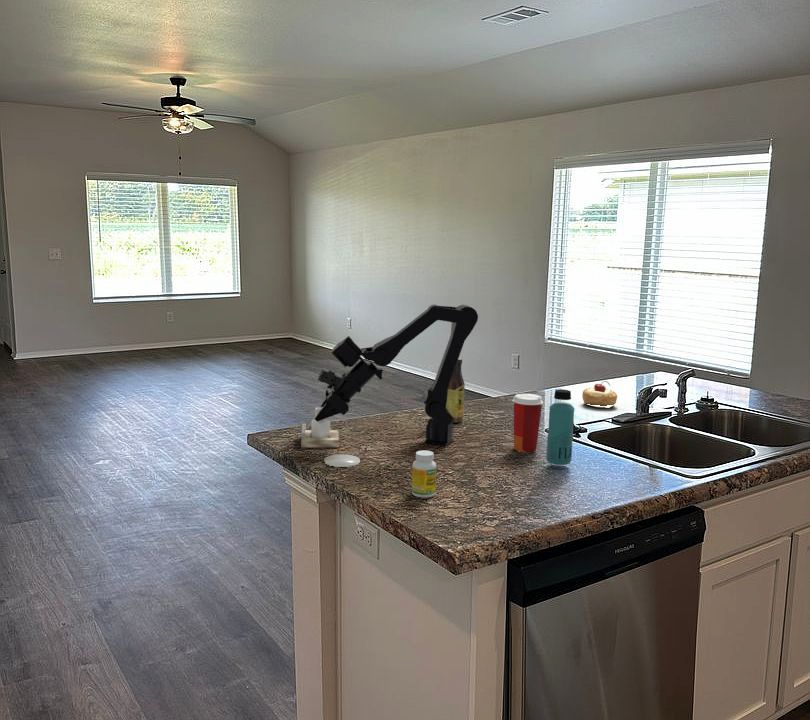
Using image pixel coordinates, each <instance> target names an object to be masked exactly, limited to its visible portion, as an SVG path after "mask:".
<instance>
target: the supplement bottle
mask: <svg viewBox="0 0 810 720" xmlns="http://www.w3.org/2000/svg"><path fill="white" fill-rule="evenodd" d="M434 458H435V455H434V452H433V451H431V450H418V451H416V452H415V460H414V461H413V463H412V469H411V470H412V472H411V473H412V475H411V476H412V477H411V494H412V496H415V497H418V498H423V499H424V498H426V499H427V498H432V497H434V496H435V494H436V490H437V489H436V486H437V485H436V484H437V481H436V480H437V463H436V462H435V461H434Z"/></svg>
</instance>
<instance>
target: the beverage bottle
mask: <svg viewBox="0 0 810 720" xmlns="http://www.w3.org/2000/svg"><path fill="white" fill-rule="evenodd" d="M571 392H572V391H571V390H568V389H563V388H562V389H555V391H554V395H553V396H554V397H553V399H555V400H561V401H555V402H553V403H552V404H550V406H549V407H548V408H549V412H548V413H549V414H548V430H547V432H548V433H547V439H546V449H545V450H546V453H545V455H546V456H545V457H546V459H545V460H546V461H547V463H549V464H551V465H559V466H565V465H566V466H568V465H569V464H571V461H572V459H573V458H572V454H573V446H574V445H573V441H574V438H573V436H574V435H573V434H574V425H575V423H574V422H575V421H574V420H575V417H574V416H575V408H574V406H573V404H571V403H570V402H567V401H569V400H571V399H572V397H571V396H572V393H571ZM565 401H566V402H565Z"/></svg>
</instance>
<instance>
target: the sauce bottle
mask: <svg viewBox="0 0 810 720" xmlns="http://www.w3.org/2000/svg"><path fill="white" fill-rule="evenodd" d="M462 364H463V358H461V357H459V358H458V361H457V364H456V367H455V370H454V372H453V375H452V378H451V381H450V384H449V386H448V395H447V403H446V408H447V409H448V411H449V412H450V414H451V415H452V417H453V420H452V424H456V423H457V424H458V423H462V422H463V419H464V418H463V417H464V408H465V407H464V405H465V389H466V388H465V387H466V383H465V380H464V378H463V374H462Z"/></svg>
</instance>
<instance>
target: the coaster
mask: <svg viewBox="0 0 810 720" xmlns="http://www.w3.org/2000/svg"><path fill="white" fill-rule="evenodd" d="M323 462H325V463H324V464H325V465H326V464H327V465H326V466H328V465H329V467H331V466H334V467H333V468H338V467H347V468H353V467H356V465H357V466H359V465H360V464H361V458H359V457H357V456H356V455H351V454H342V453H341V454H333V455H329V456H326V457H325V458H324V460H323ZM359 463H360V464H359ZM352 466H353V467H352Z"/></svg>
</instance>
